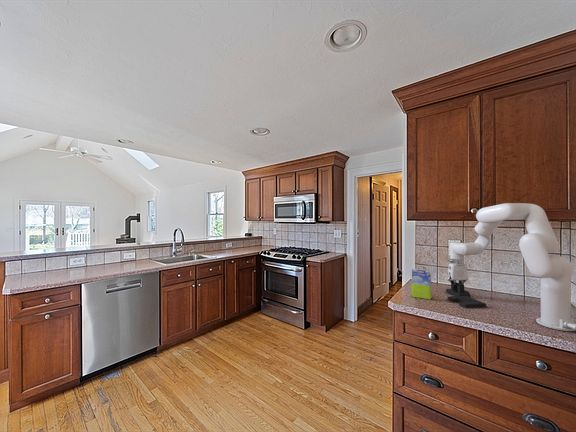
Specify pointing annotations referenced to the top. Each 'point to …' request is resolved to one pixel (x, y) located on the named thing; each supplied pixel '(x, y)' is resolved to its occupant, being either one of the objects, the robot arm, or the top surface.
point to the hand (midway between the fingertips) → (457, 290)
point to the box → (421, 284)
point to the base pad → (467, 301)
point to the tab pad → (458, 290)
